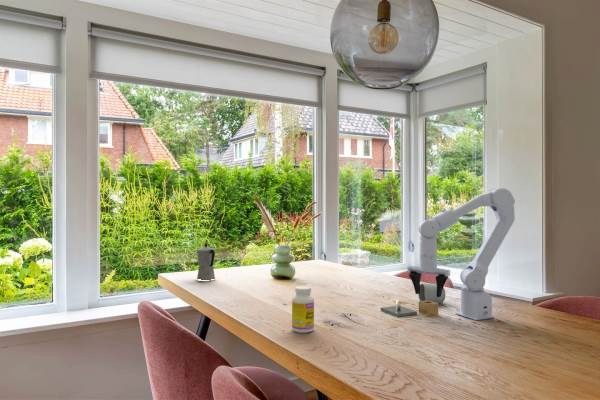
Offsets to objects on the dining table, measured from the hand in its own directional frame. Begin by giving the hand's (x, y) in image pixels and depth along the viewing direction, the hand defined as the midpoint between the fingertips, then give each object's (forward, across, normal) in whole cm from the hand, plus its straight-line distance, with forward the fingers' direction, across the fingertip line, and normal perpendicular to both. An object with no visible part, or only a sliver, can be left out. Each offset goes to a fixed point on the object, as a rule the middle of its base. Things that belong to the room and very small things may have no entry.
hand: (428, 295), depth 154 cm
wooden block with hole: (+6, 0, 0) cm, 7 cm away
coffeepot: (+7, +111, +5) cm, 111 cm away
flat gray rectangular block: (+6, +9, +4) cm, 12 cm away
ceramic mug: (+7, +7, -17) cm, 19 cm away
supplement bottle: (+7, +22, +42) cm, 47 cm away
